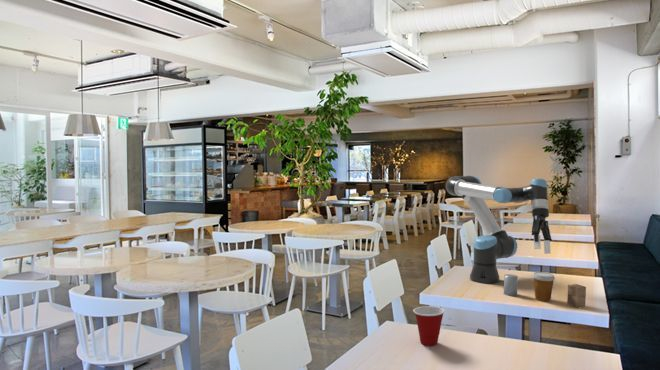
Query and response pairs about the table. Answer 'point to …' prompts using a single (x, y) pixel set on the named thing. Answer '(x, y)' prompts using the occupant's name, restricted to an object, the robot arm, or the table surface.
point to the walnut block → (576, 295)
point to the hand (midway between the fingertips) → (542, 251)
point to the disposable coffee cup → (543, 285)
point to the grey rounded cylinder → (510, 284)
